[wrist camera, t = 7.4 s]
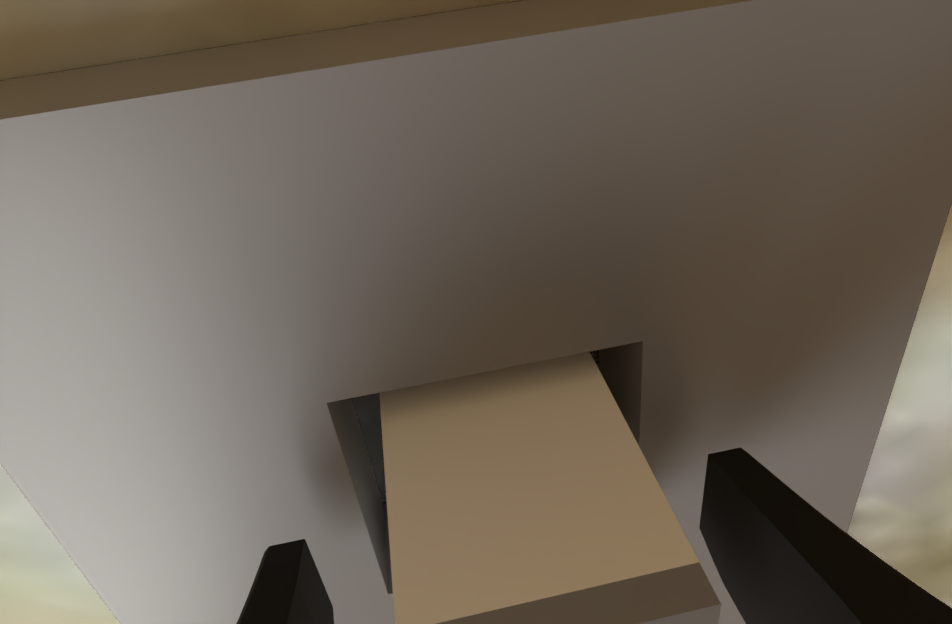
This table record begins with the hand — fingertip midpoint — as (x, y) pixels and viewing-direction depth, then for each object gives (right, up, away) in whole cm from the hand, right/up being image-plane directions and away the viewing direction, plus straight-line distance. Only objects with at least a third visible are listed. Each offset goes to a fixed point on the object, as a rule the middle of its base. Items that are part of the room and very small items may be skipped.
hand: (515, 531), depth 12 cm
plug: (-1, +2, +3) cm, 4 cm away
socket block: (-1, +2, +3) cm, 4 cm away
